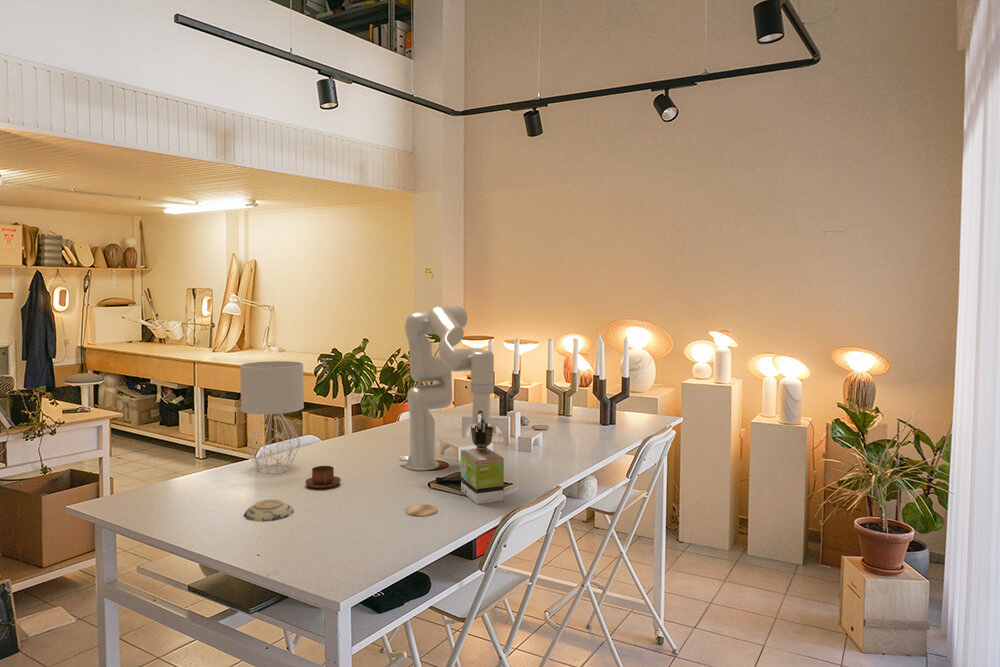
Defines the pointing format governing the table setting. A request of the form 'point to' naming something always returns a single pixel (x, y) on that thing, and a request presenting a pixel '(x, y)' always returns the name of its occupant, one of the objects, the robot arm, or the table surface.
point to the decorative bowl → (268, 511)
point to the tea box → (482, 475)
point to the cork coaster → (421, 510)
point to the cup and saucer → (322, 477)
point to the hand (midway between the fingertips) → (481, 440)
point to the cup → (487, 438)
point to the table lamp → (272, 397)
